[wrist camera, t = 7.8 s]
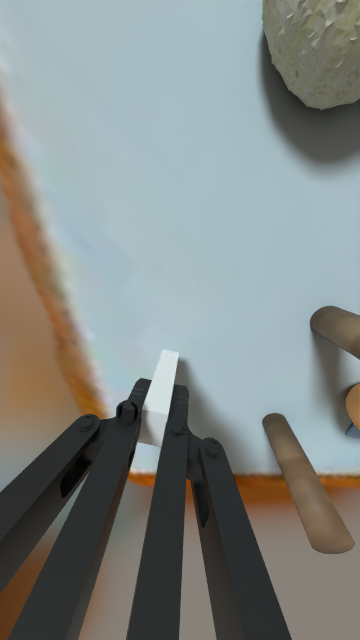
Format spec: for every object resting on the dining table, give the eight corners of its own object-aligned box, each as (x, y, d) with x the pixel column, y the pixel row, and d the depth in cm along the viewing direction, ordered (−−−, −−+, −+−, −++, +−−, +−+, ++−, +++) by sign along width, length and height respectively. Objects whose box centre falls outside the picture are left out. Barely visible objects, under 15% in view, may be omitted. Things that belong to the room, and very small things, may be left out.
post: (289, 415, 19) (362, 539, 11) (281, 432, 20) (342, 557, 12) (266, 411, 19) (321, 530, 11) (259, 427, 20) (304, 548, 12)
